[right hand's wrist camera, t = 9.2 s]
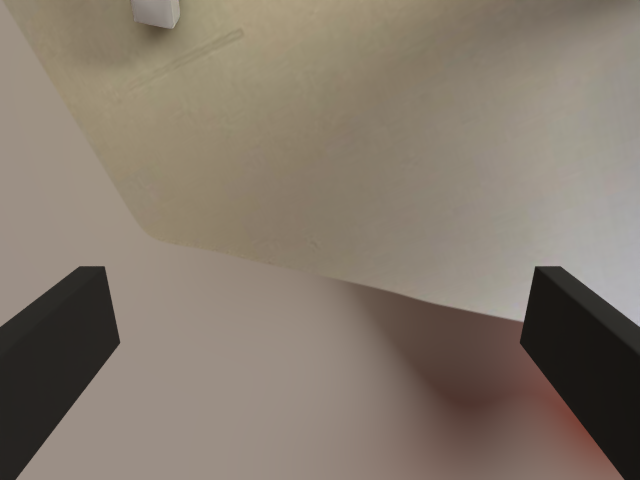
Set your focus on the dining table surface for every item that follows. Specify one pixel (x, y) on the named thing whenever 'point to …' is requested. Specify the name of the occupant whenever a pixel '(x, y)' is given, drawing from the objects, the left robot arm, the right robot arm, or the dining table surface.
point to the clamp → (156, 12)
